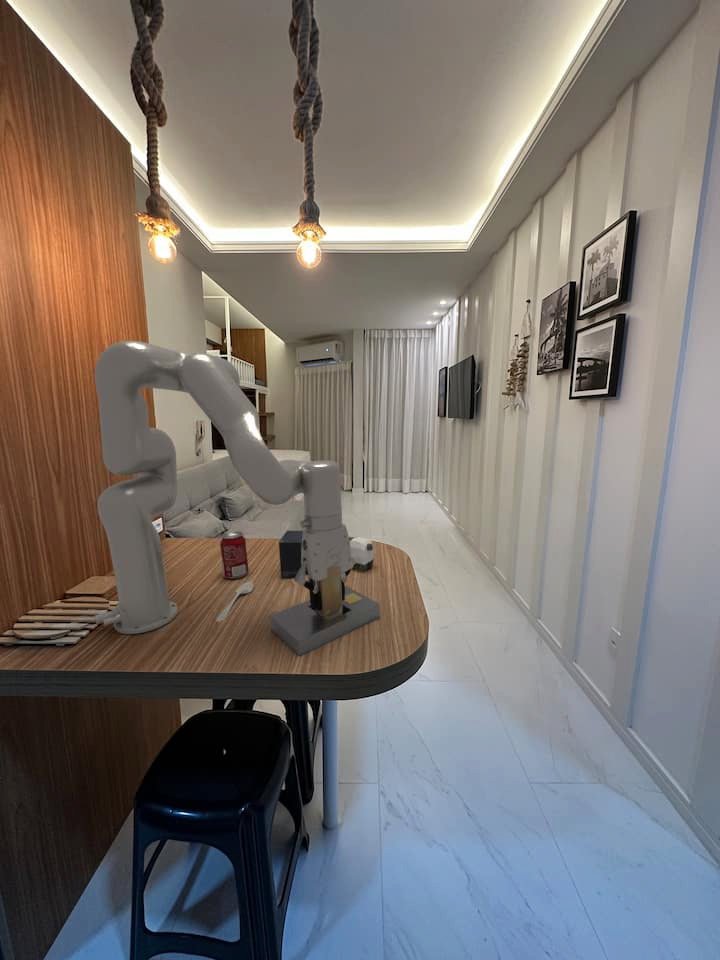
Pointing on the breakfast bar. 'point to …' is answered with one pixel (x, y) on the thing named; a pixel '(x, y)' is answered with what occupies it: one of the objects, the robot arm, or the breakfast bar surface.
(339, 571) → the skincare box
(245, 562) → the soda can
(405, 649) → the breakfast bar surface
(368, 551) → the giant panda
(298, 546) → the small box
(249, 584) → the spoon
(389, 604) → the breakfast bar surface
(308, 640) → the grey slotted base block
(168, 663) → the breakfast bar surface
